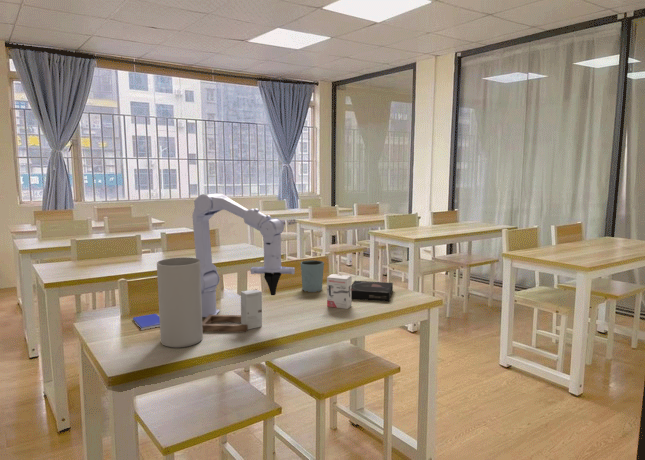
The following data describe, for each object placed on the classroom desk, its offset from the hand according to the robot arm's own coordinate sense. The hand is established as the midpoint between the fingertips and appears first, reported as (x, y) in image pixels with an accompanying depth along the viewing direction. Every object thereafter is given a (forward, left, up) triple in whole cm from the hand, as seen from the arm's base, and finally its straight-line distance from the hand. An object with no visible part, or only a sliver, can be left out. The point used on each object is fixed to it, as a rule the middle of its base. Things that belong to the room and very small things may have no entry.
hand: (273, 294), depth 161 cm
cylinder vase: (-26, -16, -11) cm, 32 cm away
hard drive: (-43, 0, -11) cm, 44 cm away
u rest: (-15, -2, -10) cm, 18 cm away
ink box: (+22, +22, -11) cm, 33 cm away
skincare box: (-7, -2, -11) cm, 13 cm away
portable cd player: (+35, +39, -11) cm, 53 cm away
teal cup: (+10, +46, -11) cm, 48 cm away
